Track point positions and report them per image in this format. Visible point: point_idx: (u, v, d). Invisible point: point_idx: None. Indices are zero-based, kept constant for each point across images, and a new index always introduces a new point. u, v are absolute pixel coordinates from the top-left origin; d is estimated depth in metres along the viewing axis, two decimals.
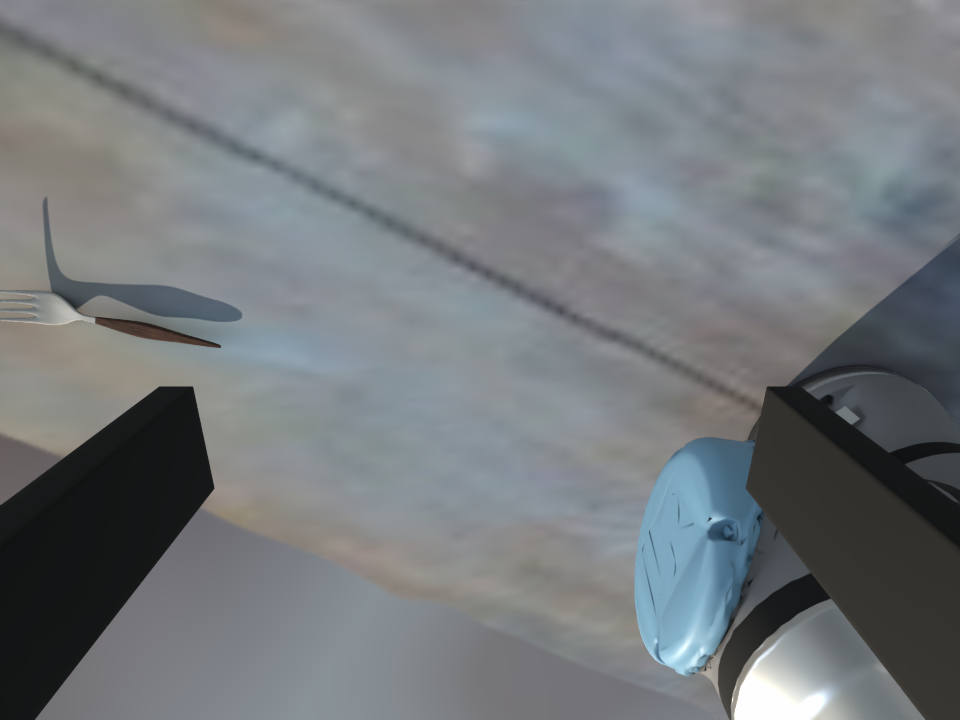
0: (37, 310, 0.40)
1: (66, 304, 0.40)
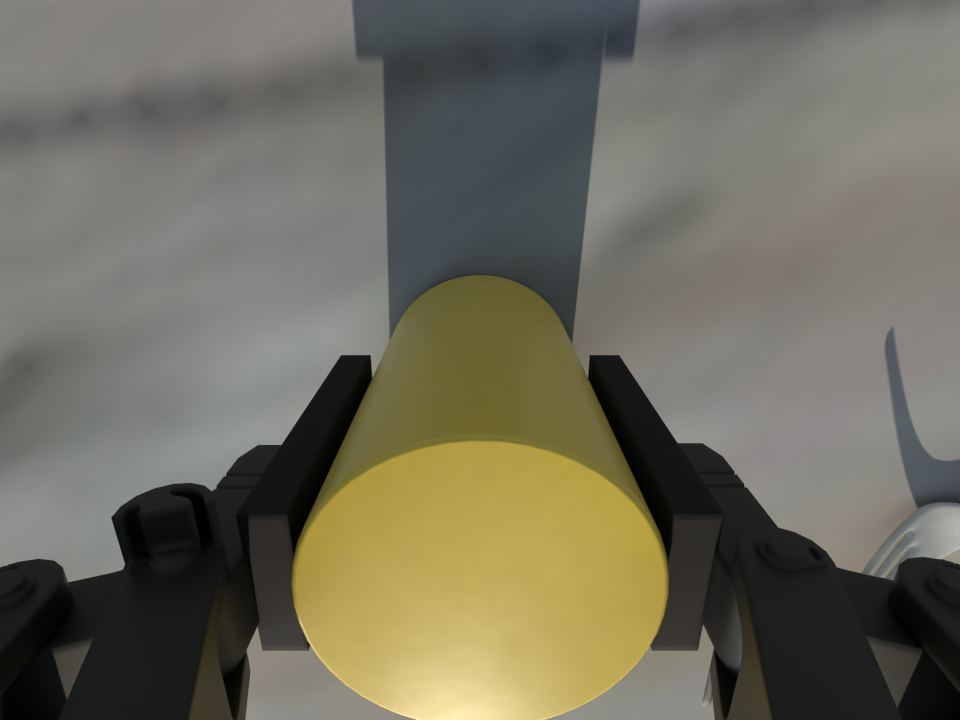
0: (917, 550, 0.19)
1: None
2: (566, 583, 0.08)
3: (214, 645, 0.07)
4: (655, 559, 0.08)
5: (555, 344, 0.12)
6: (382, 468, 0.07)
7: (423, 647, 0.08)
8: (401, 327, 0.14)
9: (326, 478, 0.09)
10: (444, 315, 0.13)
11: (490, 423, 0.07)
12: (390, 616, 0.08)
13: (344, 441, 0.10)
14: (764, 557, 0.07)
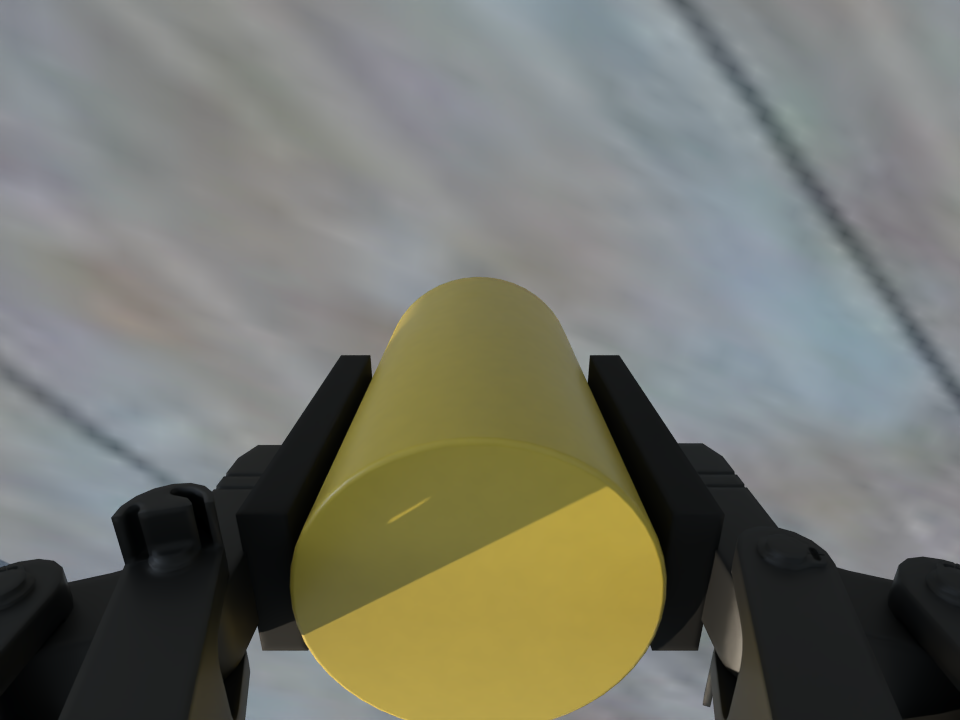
0: None
1: None
2: (564, 586, 0.08)
3: (214, 645, 0.07)
4: (653, 563, 0.08)
5: (554, 347, 0.12)
6: (381, 473, 0.07)
7: (421, 650, 0.08)
8: (400, 329, 0.14)
9: (324, 481, 0.09)
10: (443, 317, 0.13)
11: (488, 428, 0.07)
12: (388, 619, 0.08)
13: (343, 444, 0.10)
14: (765, 556, 0.07)
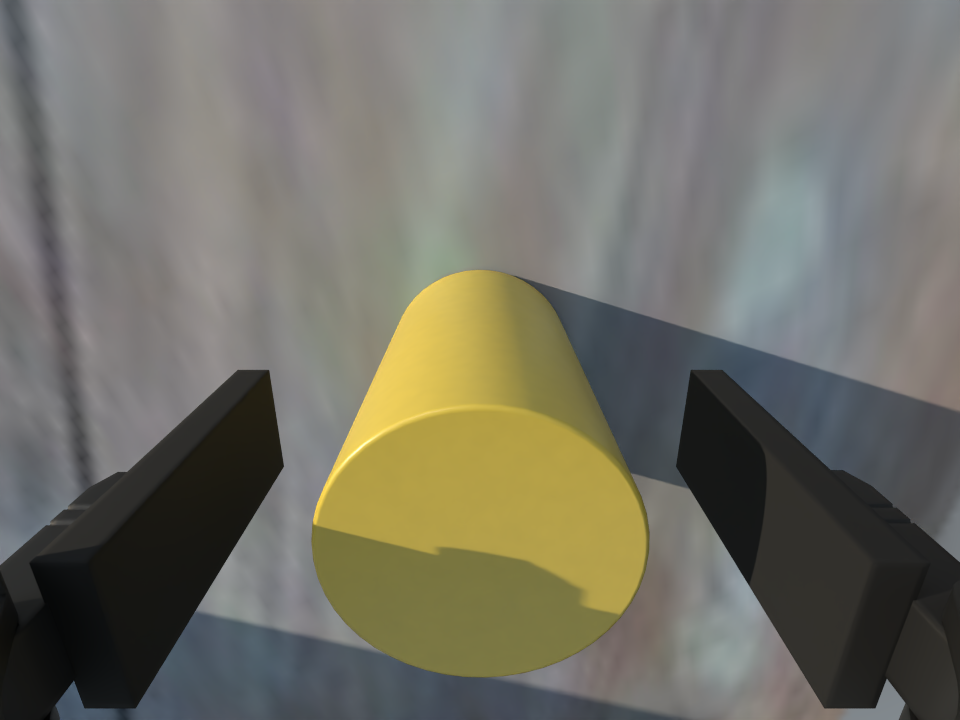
0: None
1: None
2: (557, 540, 0.09)
3: None
4: (636, 519, 0.09)
5: (550, 332, 0.13)
6: (394, 436, 0.08)
7: (429, 600, 0.09)
8: (406, 318, 0.15)
9: (341, 449, 0.10)
10: (447, 306, 0.14)
11: (489, 397, 0.08)
12: (399, 571, 0.09)
13: (357, 418, 0.10)
14: None
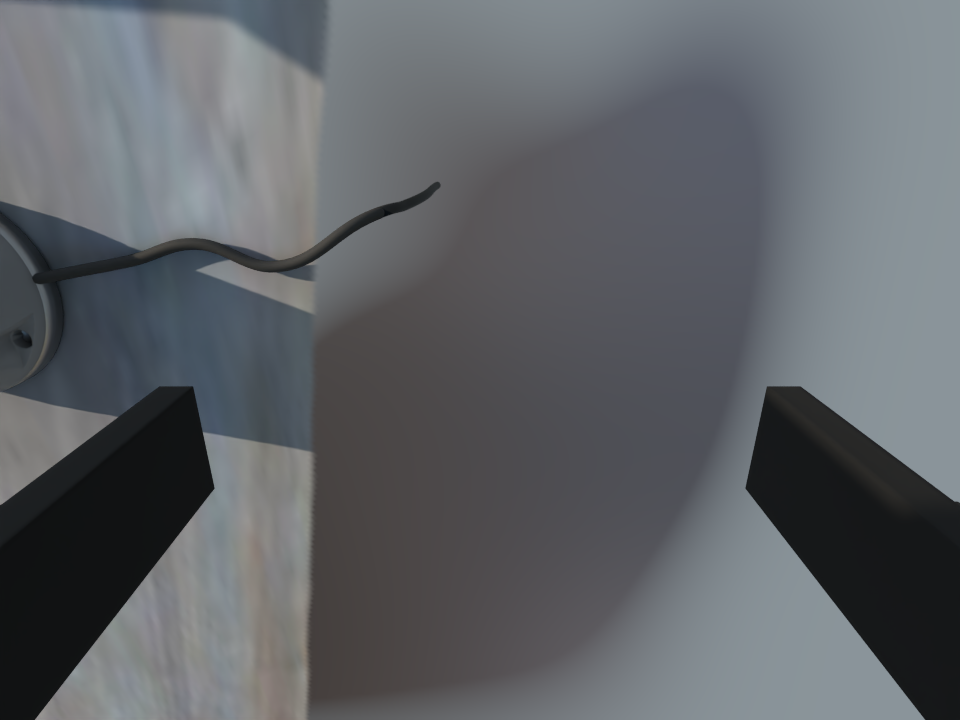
0: None
1: None
2: None
3: None
4: None
5: None
6: None
7: None
8: None
9: None
10: None
11: None
12: None
13: None
14: None
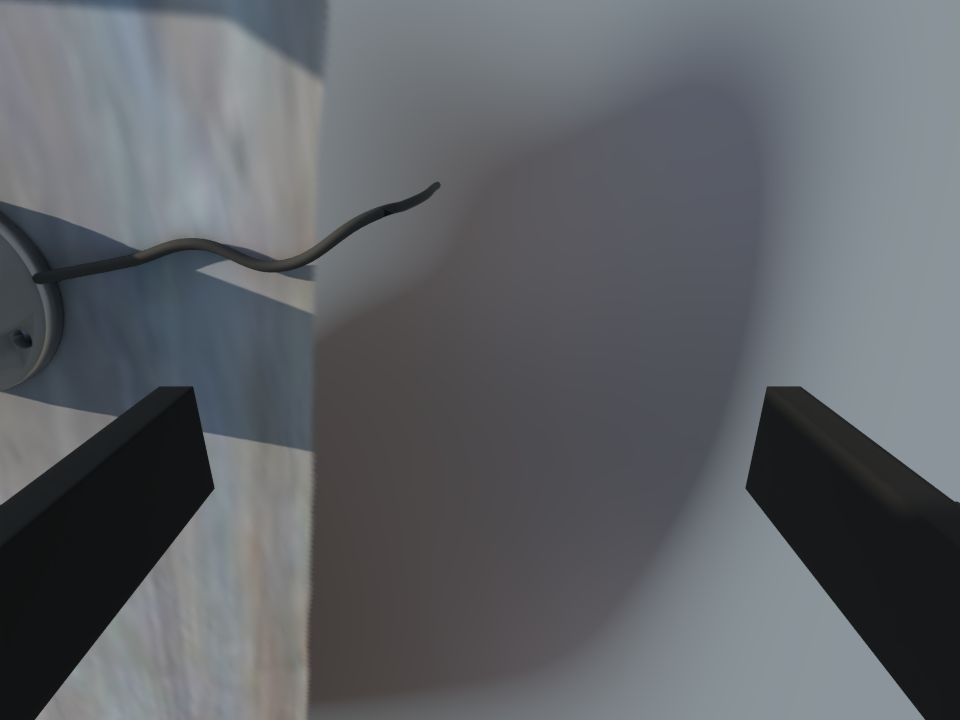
0: None
1: None
2: None
3: None
4: None
5: None
6: None
7: None
8: None
9: None
10: None
11: None
12: None
13: None
14: None
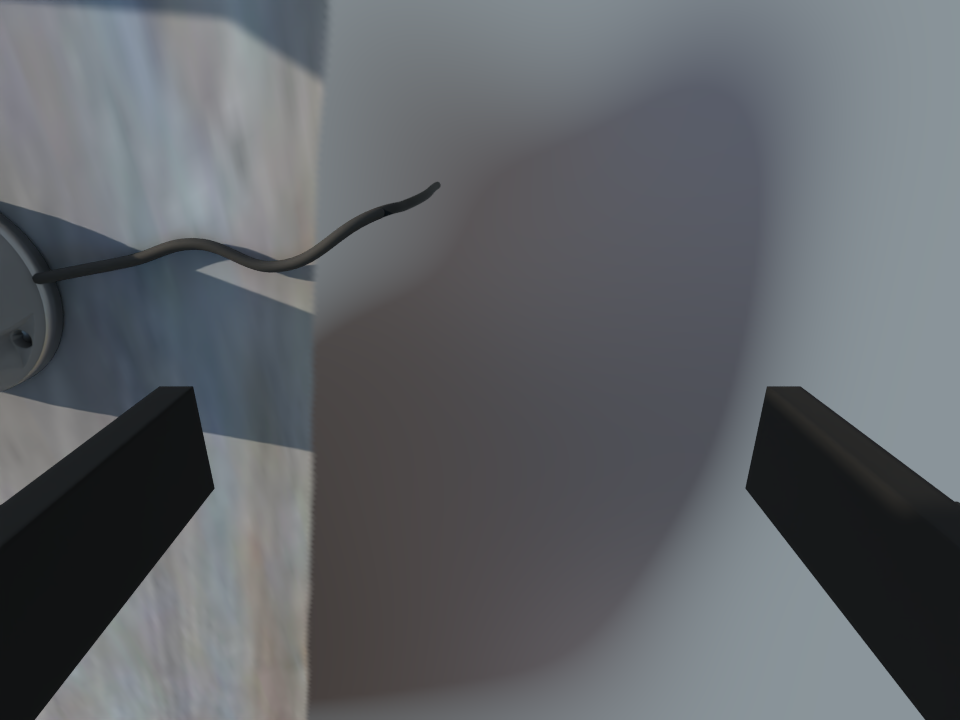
0: None
1: None
2: None
3: None
4: None
5: None
6: None
7: None
8: None
9: None
10: None
11: None
12: None
13: None
14: None
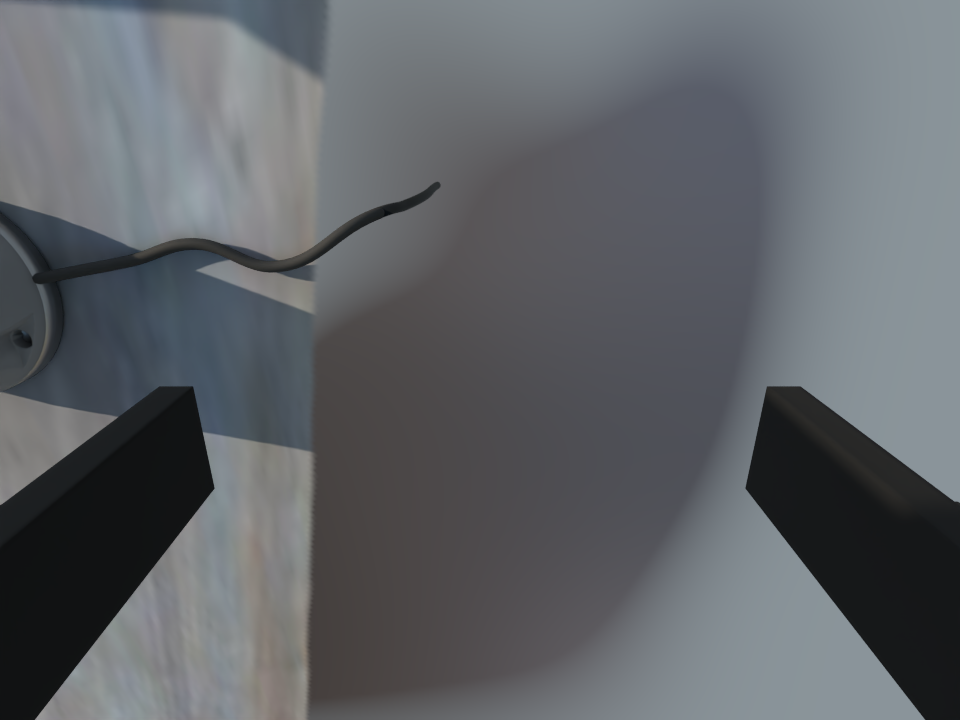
0: None
1: None
2: None
3: None
4: None
5: None
6: None
7: None
8: None
9: None
10: None
11: None
12: None
13: None
14: None
